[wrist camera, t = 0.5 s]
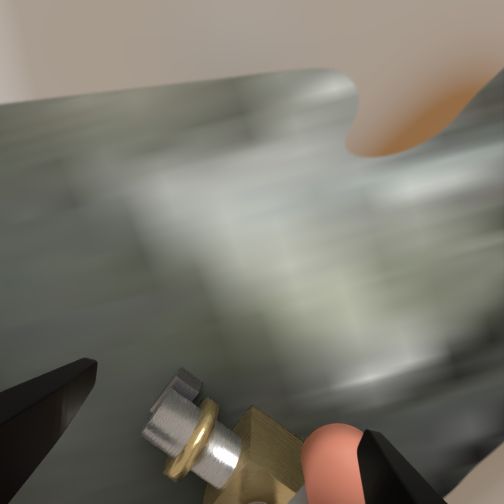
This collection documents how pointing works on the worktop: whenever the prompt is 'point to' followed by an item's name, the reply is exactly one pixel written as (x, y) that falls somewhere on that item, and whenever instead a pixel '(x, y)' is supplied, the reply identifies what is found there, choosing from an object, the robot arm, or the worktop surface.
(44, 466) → the worktop surface
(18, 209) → the worktop surface
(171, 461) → the valve body
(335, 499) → the lever
